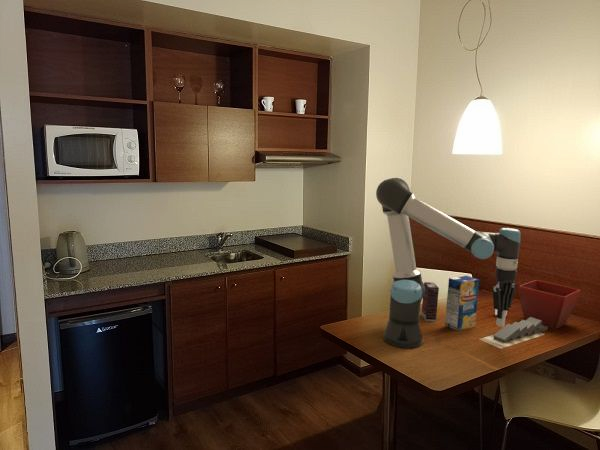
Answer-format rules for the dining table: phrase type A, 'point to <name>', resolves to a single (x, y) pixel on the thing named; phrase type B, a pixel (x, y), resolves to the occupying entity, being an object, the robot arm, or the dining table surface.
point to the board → (517, 340)
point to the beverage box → (462, 302)
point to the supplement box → (430, 301)
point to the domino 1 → (506, 333)
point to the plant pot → (548, 302)
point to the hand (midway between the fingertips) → (500, 325)
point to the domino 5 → (540, 329)
